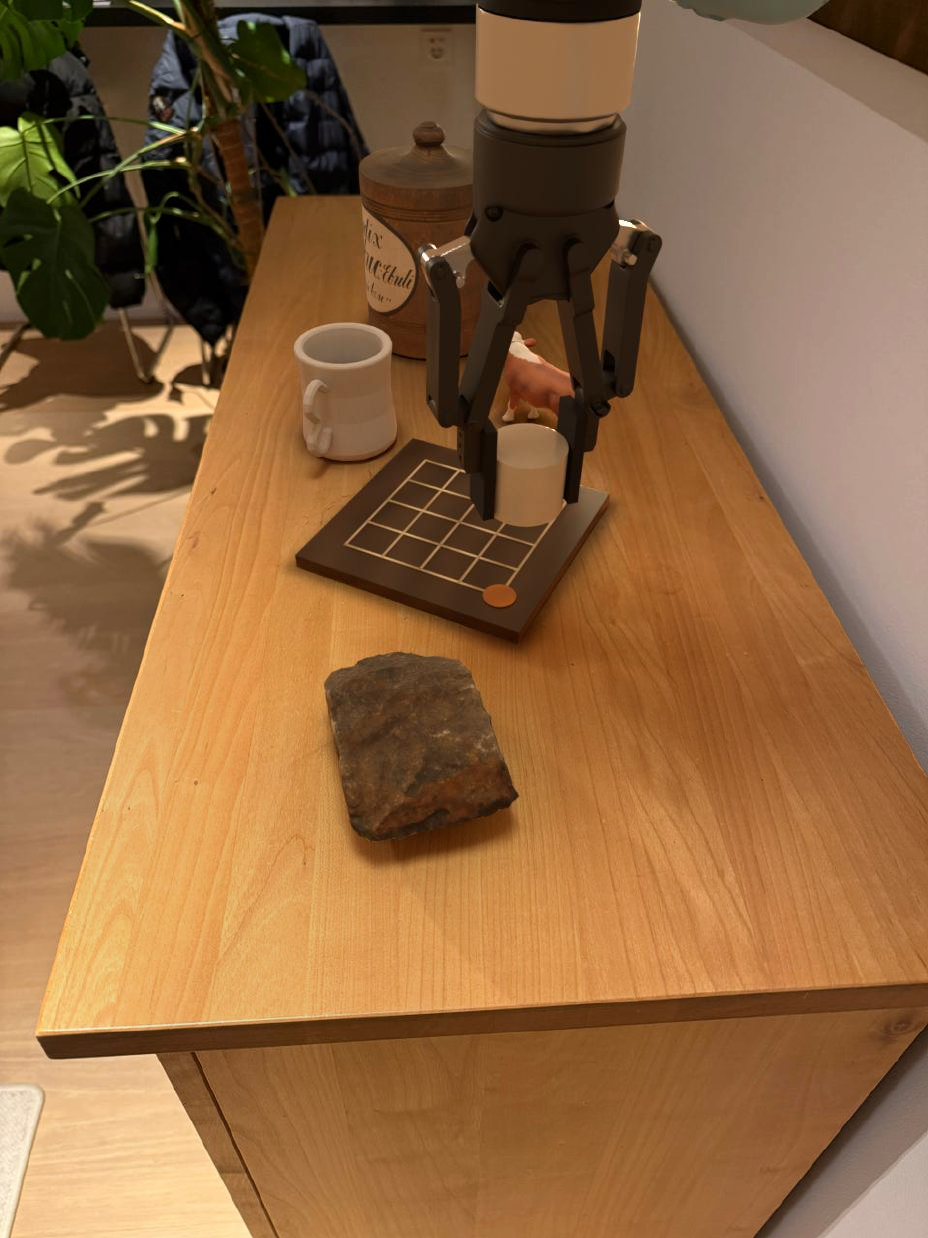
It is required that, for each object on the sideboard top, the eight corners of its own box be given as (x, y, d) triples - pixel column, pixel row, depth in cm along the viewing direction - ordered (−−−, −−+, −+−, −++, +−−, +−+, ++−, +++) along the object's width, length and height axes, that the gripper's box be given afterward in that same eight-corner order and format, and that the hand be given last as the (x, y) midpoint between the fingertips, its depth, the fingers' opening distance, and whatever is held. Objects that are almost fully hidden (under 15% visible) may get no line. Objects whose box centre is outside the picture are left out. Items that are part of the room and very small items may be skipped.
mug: (330, 407, 93) (321, 314, 87) (412, 425, 91) (409, 330, 84) (270, 471, 85) (254, 373, 78) (358, 492, 83) (350, 393, 76)
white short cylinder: (574, 493, 61) (581, 435, 58) (544, 535, 58) (550, 477, 55) (504, 472, 63) (507, 415, 60) (471, 513, 60) (472, 454, 57)
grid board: (608, 504, 82) (610, 492, 81) (518, 644, 69) (519, 631, 68) (413, 448, 88) (412, 436, 87) (296, 566, 75) (294, 553, 74)
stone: (467, 681, 66) (461, 619, 62) (524, 831, 55) (521, 767, 52) (330, 713, 65) (315, 651, 61) (361, 873, 54) (345, 810, 50)
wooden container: (358, 311, 110) (343, 108, 95) (475, 297, 113) (479, 98, 98) (384, 368, 100) (372, 150, 85) (513, 351, 103) (523, 139, 88)
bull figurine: (511, 393, 96) (515, 319, 90) (596, 450, 88) (606, 373, 83) (478, 405, 94) (479, 330, 89) (562, 464, 86) (570, 386, 81)
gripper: (680, 78, 49) (623, 447, 65) (350, 103, 45) (375, 492, 61) (755, 116, 44) (673, 507, 60) (390, 149, 40) (406, 561, 56)
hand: (523, 499), depth 60 cm, fingers closed on white short cylinder, 5 cm apart
